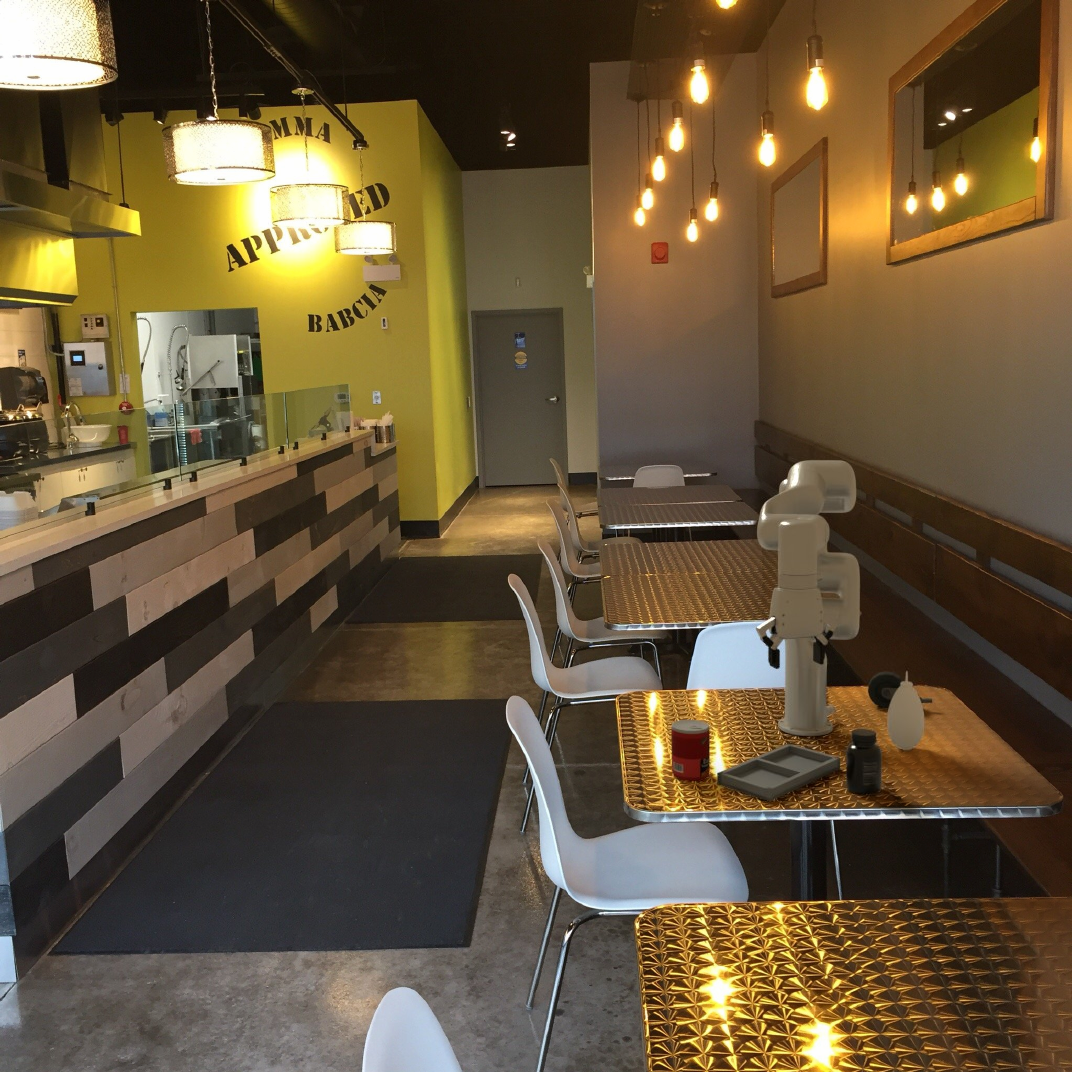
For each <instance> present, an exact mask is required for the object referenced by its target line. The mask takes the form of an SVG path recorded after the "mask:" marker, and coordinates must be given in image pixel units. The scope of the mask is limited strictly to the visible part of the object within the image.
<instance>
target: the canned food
mask: <svg viewBox="0 0 1072 1072" xmlns="http://www.w3.org/2000/svg"><path fill="white" fill-rule="evenodd" d="M670 727H671V772H672V775H673V777H674V778H676V779H677V780H682V781H686V782H700V781H702V780H706V779H708V777H709V776H710V769H711V768H710V765H711V763H710V761H711V760H710V759H711V758H710V750H711V749H710V748H711V747H710V744H711V743H710V742H711V741H710V739H711V738H710V736H711V734H710V724H709V723H707V722H706V721H703V720H700V719H679V720H675V721H674V722H672V723H671V726H670Z"/></svg>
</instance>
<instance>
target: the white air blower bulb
mask: <svg viewBox="0 0 1072 1072" xmlns="http://www.w3.org/2000/svg"><path fill="white" fill-rule="evenodd" d="M908 674H909V673H908V670H906V672H905V680H903V682H901V683H900V685H901V686H900V687H899V688H898V689H897V690H896V692H895V694H894V696H893V698H892V700H891V703H890V706H889V709H887V719H886V721H887V722H886V723H887V725H886V727H887V733H888V736H889V739H890V740H891V743H893V745H895V746H896V747H897V748H898V749H900V750H901V749H903V750H902V751H905V750H908V751H910V750H913V749H914V747H917V746H918V745H919V743H920V742H921V741H922V740H921V739H922V738H923V735H924V732H925V731H924V730H925V713H924V707H923V703H922V704H921V701H920V698H919V697H920V695H919V696H918V694H919V693H918V692H917V690H916V689H915V688H914V684H913V682H912V681H909V675H908ZM912 686H913V687H912ZM917 693H918V694H917Z"/></svg>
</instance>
